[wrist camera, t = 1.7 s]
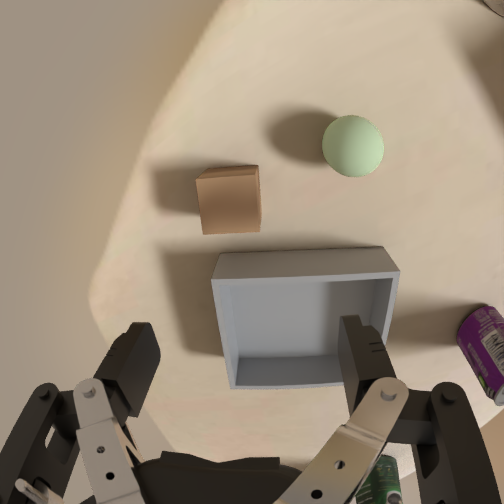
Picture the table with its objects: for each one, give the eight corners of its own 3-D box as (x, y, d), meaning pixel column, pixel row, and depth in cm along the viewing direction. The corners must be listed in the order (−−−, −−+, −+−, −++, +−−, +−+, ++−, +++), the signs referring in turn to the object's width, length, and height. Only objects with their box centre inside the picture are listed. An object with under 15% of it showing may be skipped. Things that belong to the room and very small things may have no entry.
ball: (316, 114, 24) (326, 115, 20) (372, 116, 24) (392, 117, 19) (318, 171, 26) (328, 183, 22) (372, 170, 26) (392, 183, 21)
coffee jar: (343, 467, 49) (349, 545, 32) (371, 450, 46) (383, 534, 29) (374, 471, 51) (384, 542, 34) (401, 456, 47) (416, 530, 31)
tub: (220, 253, 30) (210, 279, 26) (383, 246, 29) (400, 271, 24) (235, 358, 36) (230, 389, 32) (366, 352, 35) (375, 381, 30)
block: (207, 168, 27) (195, 179, 23) (258, 165, 26) (255, 174, 22) (213, 216, 29) (203, 234, 25) (261, 213, 28) (259, 231, 24)
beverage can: (447, 346, 34) (481, 413, 23) (466, 303, 31) (513, 368, 20) (482, 343, 34) (518, 402, 23) (502, 302, 31) (548, 359, 20)
